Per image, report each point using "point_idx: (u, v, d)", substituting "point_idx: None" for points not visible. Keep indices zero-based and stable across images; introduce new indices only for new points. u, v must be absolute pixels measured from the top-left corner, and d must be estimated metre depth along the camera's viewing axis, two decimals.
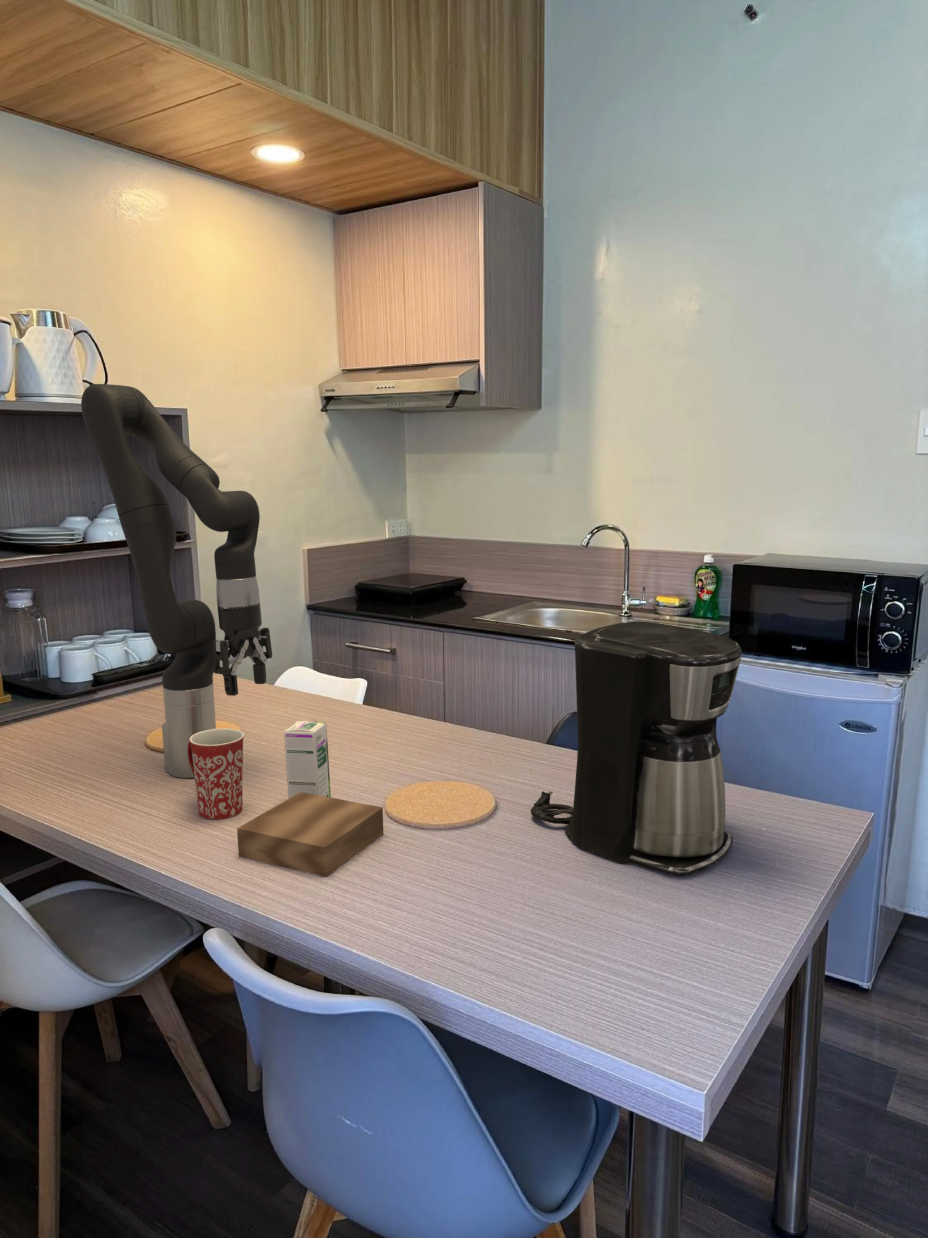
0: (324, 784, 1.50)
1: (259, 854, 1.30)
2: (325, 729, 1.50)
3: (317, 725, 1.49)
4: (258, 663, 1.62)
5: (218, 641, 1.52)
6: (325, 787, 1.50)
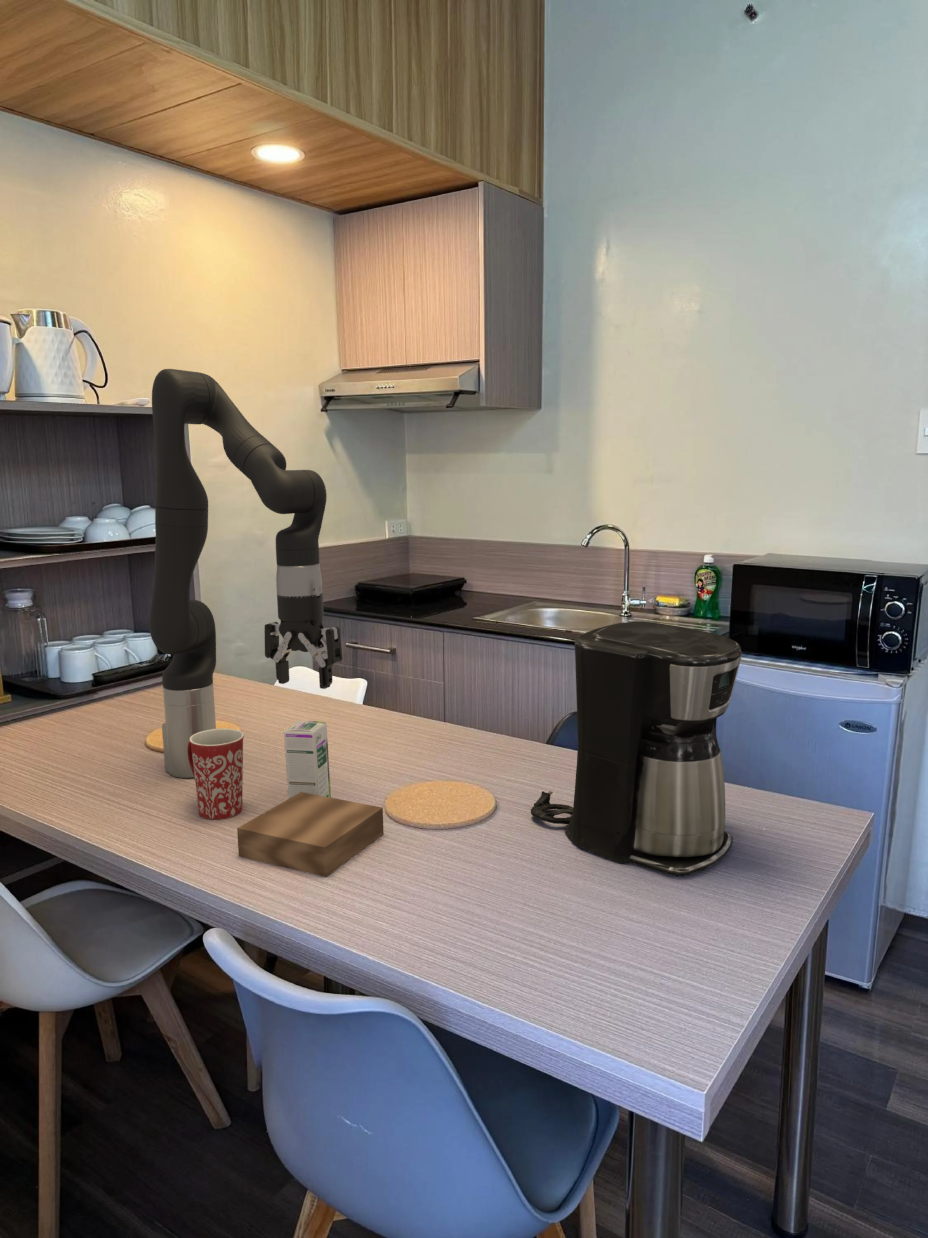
0: (324, 784, 1.50)
1: (259, 854, 1.30)
2: (325, 729, 1.50)
3: (317, 725, 1.49)
4: (283, 660, 1.48)
5: (334, 628, 1.43)
6: (325, 787, 1.50)
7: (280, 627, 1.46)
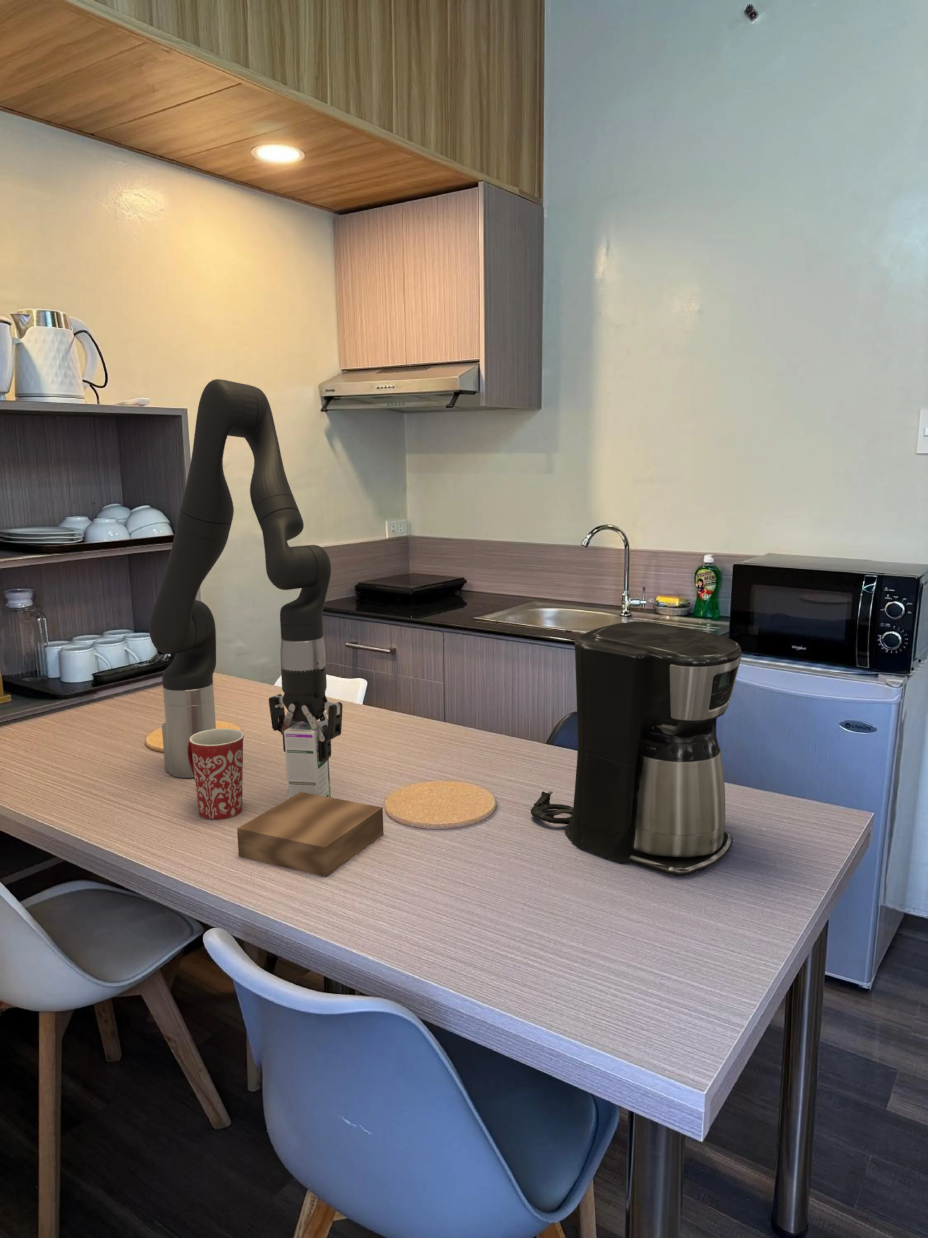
0: (324, 784, 1.50)
1: (259, 854, 1.30)
2: None
3: None
4: None
5: (337, 705, 1.45)
6: (325, 787, 1.50)
7: (283, 698, 1.48)
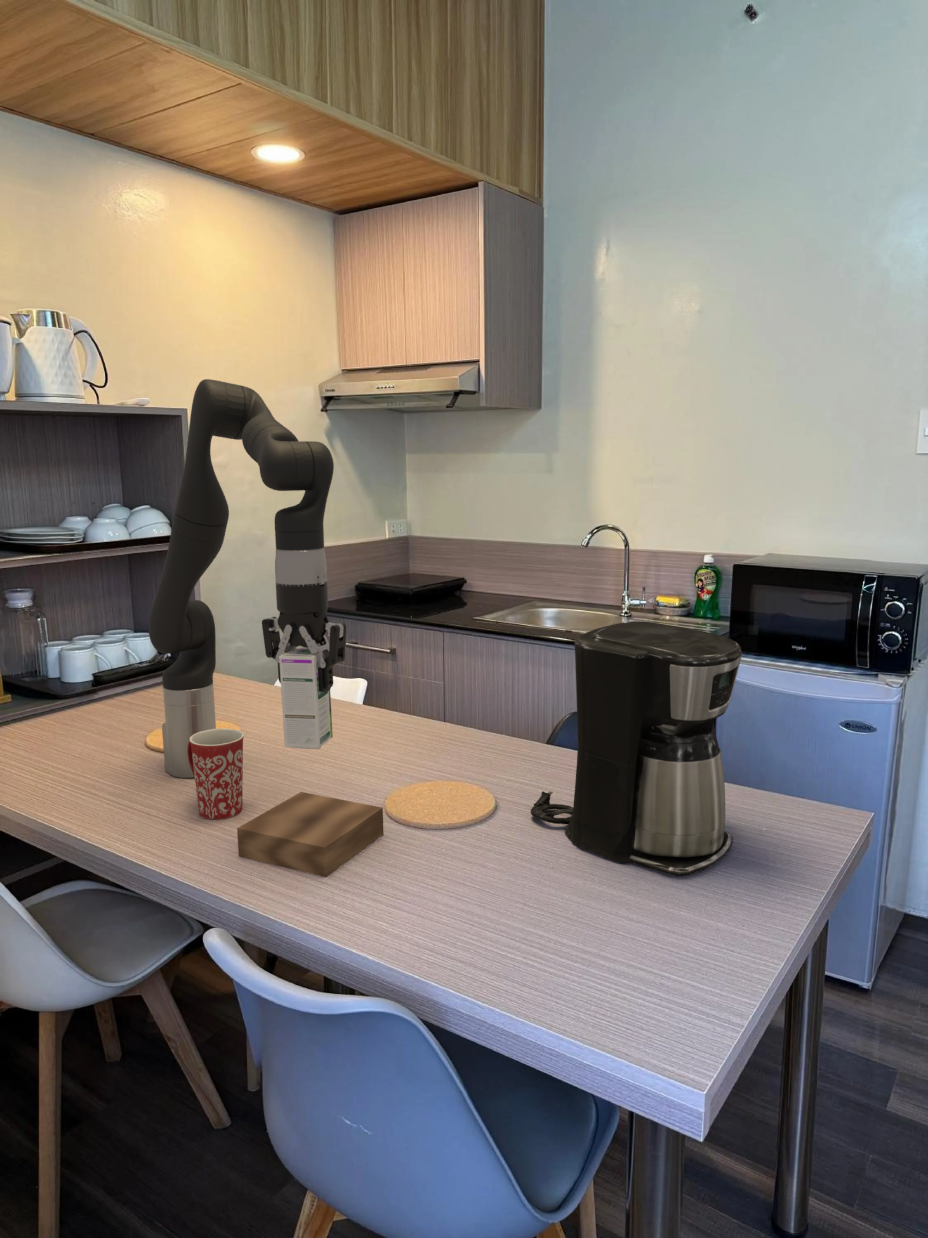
0: (325, 718, 1.31)
1: (259, 854, 1.30)
2: None
3: None
4: None
5: (340, 625, 1.26)
6: (326, 722, 1.32)
7: (279, 620, 1.30)
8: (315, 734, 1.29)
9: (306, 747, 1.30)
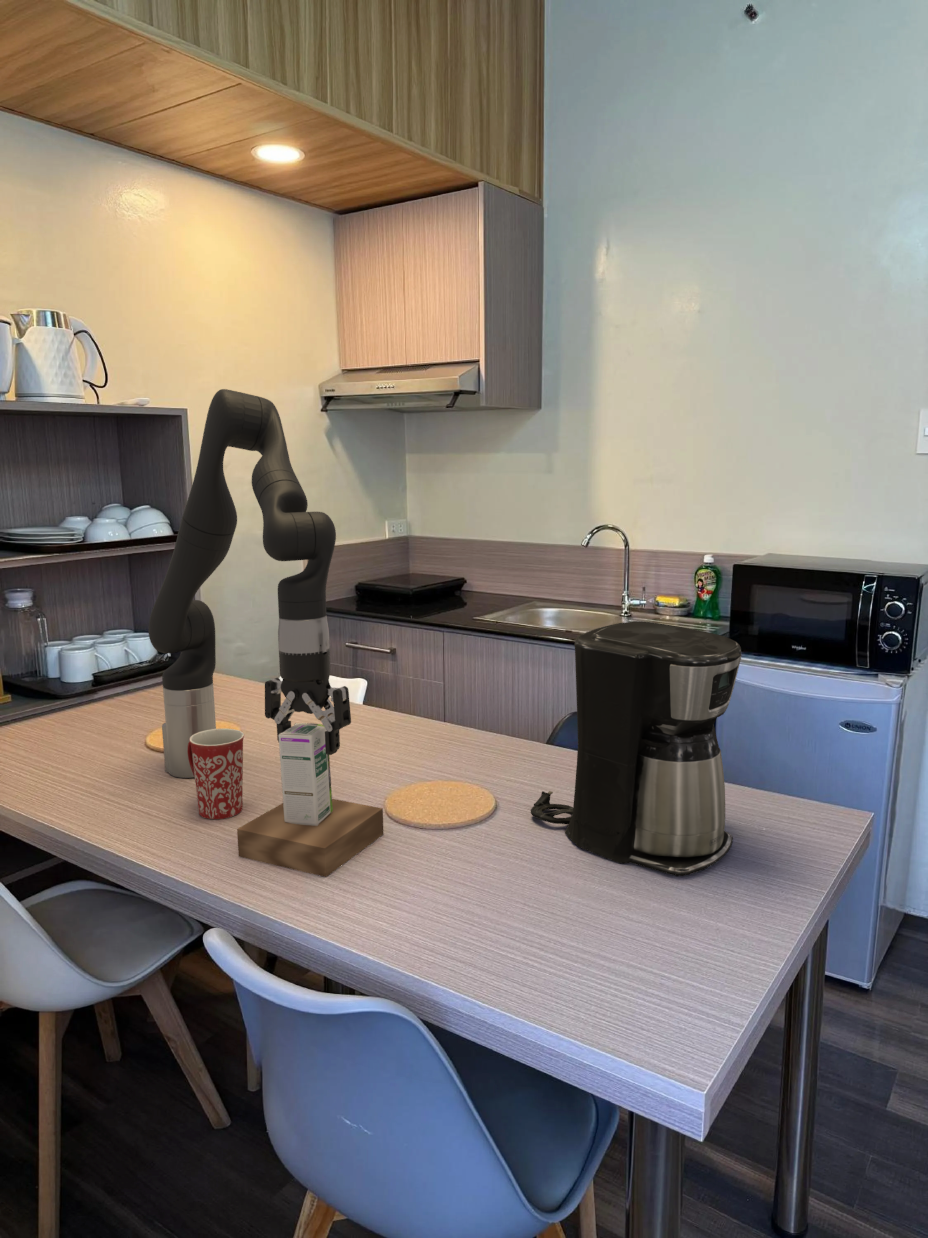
0: (324, 794, 1.33)
1: (259, 855, 1.30)
2: None
3: (316, 728, 1.32)
4: (285, 721, 1.34)
5: (342, 689, 1.28)
6: (325, 798, 1.34)
7: (282, 685, 1.31)
8: (313, 811, 1.31)
9: (305, 823, 1.32)
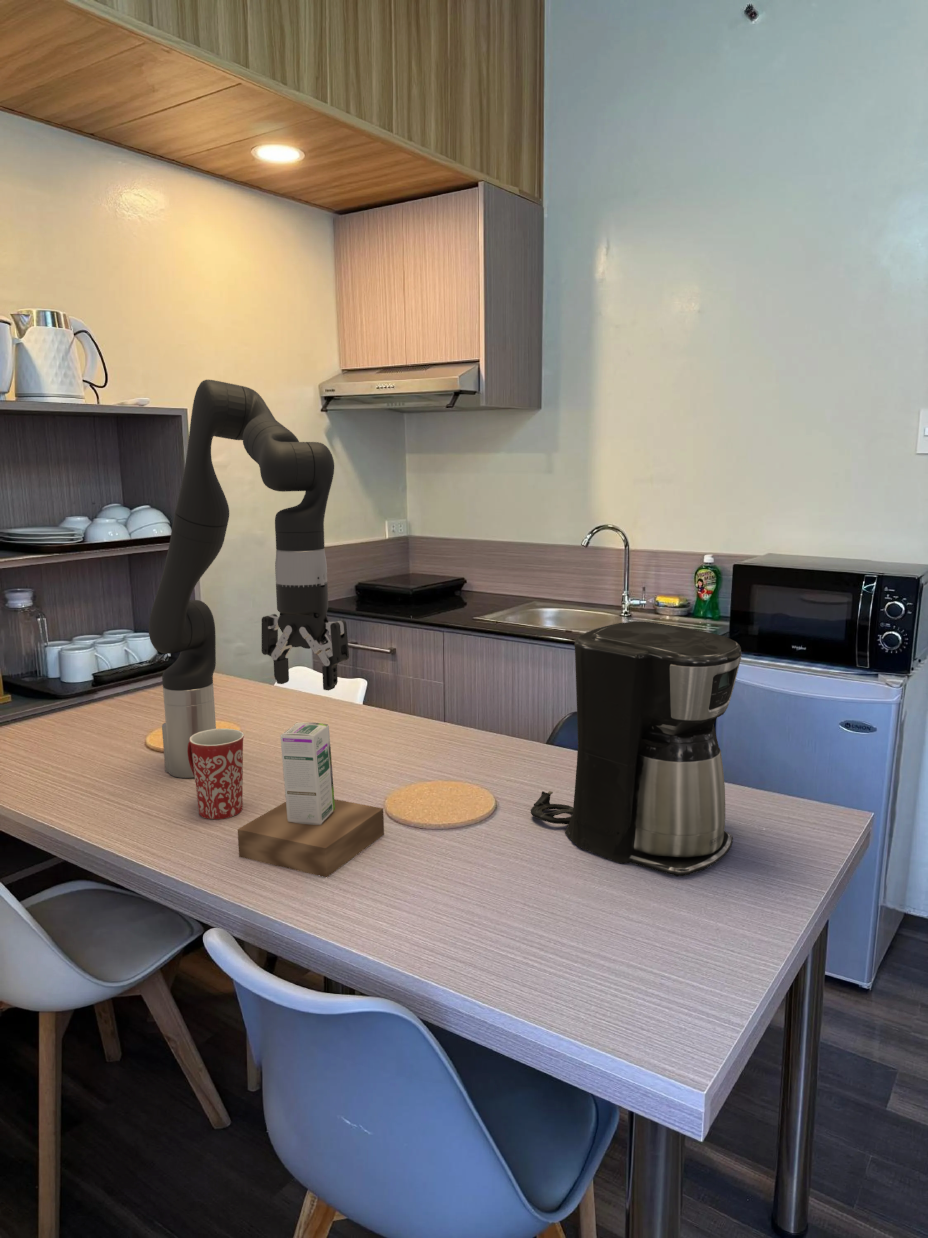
0: (327, 793, 1.33)
1: (259, 855, 1.30)
2: (327, 732, 1.33)
3: (318, 728, 1.32)
4: (282, 657, 1.32)
5: (340, 622, 1.26)
6: (328, 797, 1.34)
7: (279, 620, 1.29)
8: (316, 810, 1.31)
9: (308, 822, 1.32)
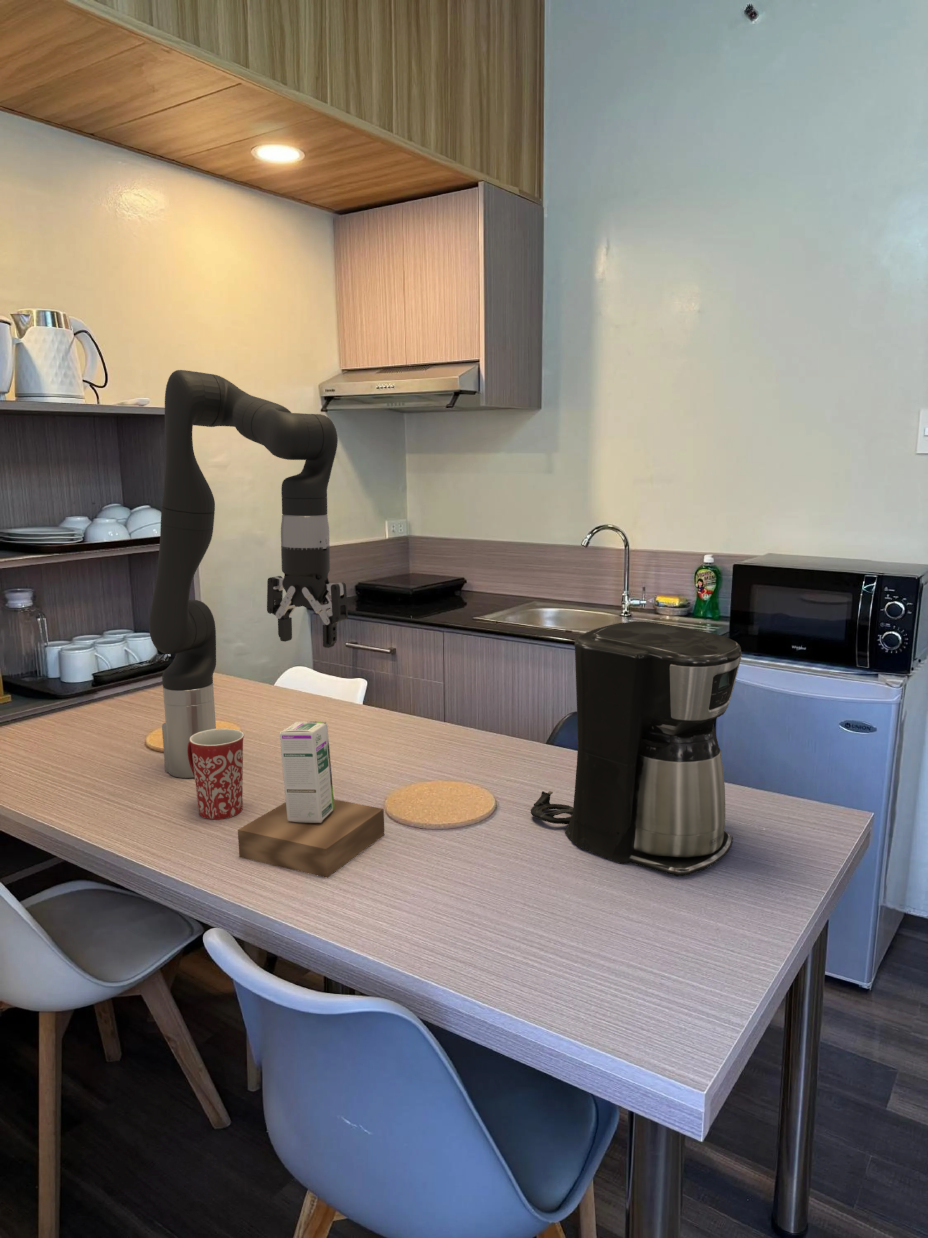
0: (326, 791, 1.34)
1: (260, 856, 1.30)
2: (325, 729, 1.34)
3: (316, 725, 1.33)
4: (286, 617, 1.40)
5: (340, 584, 1.34)
6: (327, 795, 1.34)
7: (284, 581, 1.38)
8: (316, 808, 1.31)
9: (308, 821, 1.32)
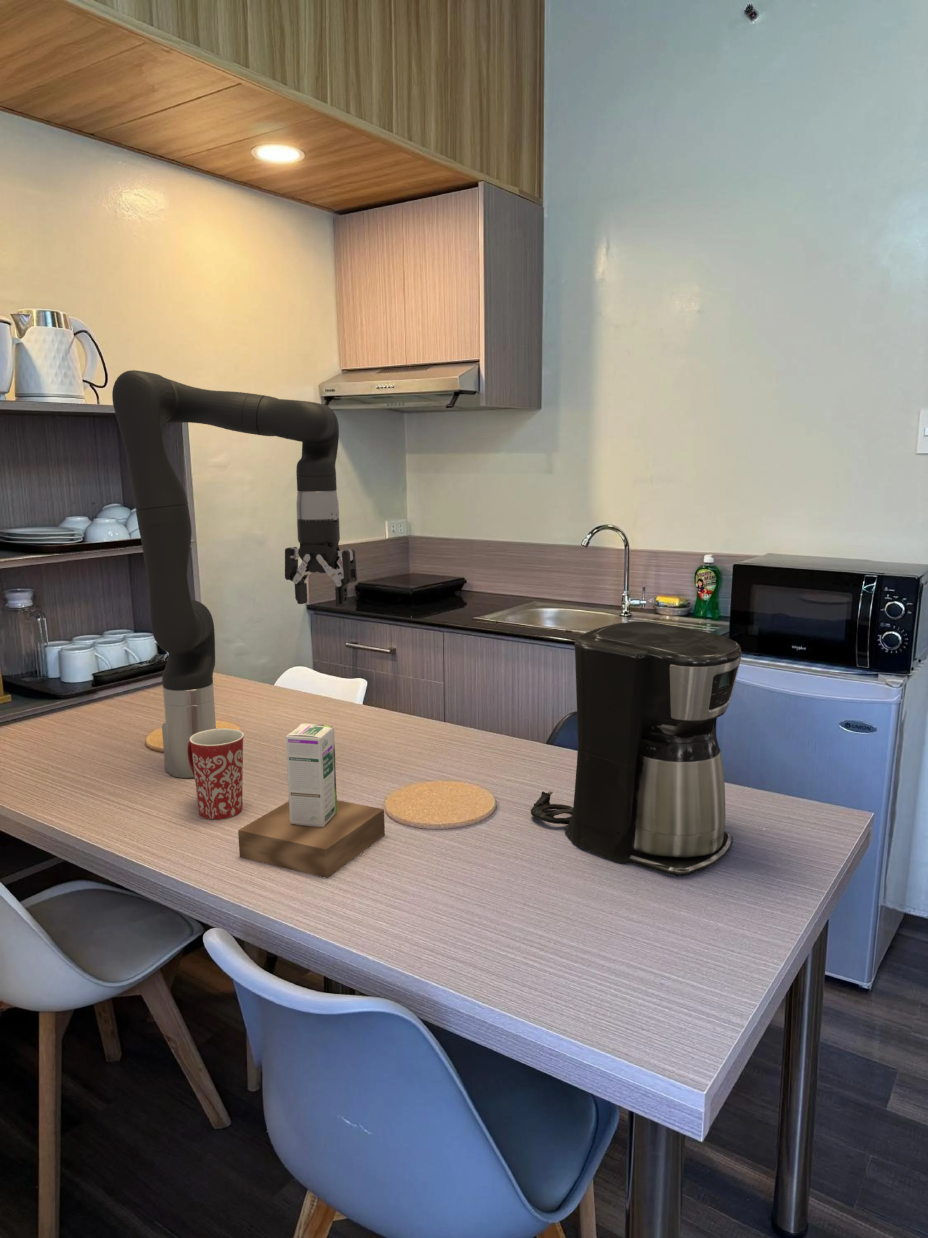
0: (330, 796, 1.33)
1: (260, 856, 1.29)
2: (332, 733, 1.33)
3: (323, 729, 1.31)
4: (302, 582, 1.60)
5: (349, 550, 1.54)
6: (331, 799, 1.33)
7: (299, 550, 1.58)
8: (320, 812, 1.31)
9: (311, 824, 1.31)
